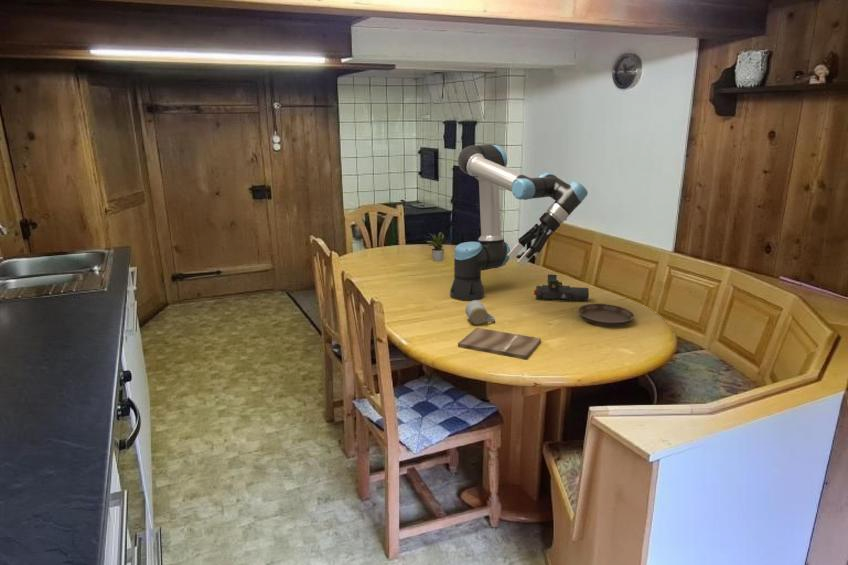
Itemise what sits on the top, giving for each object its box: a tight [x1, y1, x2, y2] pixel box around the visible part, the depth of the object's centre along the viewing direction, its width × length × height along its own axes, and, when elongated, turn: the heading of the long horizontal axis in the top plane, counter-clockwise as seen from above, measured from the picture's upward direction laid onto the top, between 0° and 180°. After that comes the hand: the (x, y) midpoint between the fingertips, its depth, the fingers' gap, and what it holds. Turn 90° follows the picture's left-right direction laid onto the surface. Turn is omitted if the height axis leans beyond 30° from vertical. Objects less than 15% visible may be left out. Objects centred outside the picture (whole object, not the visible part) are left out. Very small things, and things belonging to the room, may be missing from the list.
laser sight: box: [533, 274, 590, 302], centre depth 237 cm, size 10×22×10 cm, turn 82°
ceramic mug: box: [465, 300, 495, 326], centre depth 211 cm, size 11×8×8 cm
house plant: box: [426, 231, 448, 262], centre depth 308 cm, size 14×14×16 cm
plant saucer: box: [577, 303, 635, 328], centre depth 213 cm, size 21×21×3 cm
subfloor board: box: [457, 327, 542, 360], centre depth 190 cm, size 24×17×1 cm
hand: (514, 260), depth 207 cm, fingers open, 13 cm apart
